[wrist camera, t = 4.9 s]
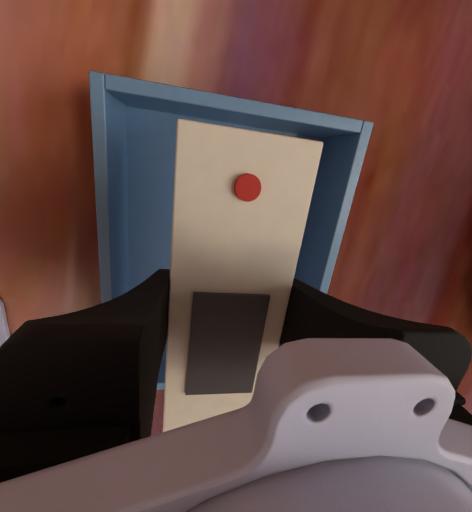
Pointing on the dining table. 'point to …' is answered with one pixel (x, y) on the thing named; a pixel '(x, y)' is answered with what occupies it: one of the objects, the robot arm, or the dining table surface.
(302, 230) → the remote
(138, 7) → the dining table surface
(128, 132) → the box
